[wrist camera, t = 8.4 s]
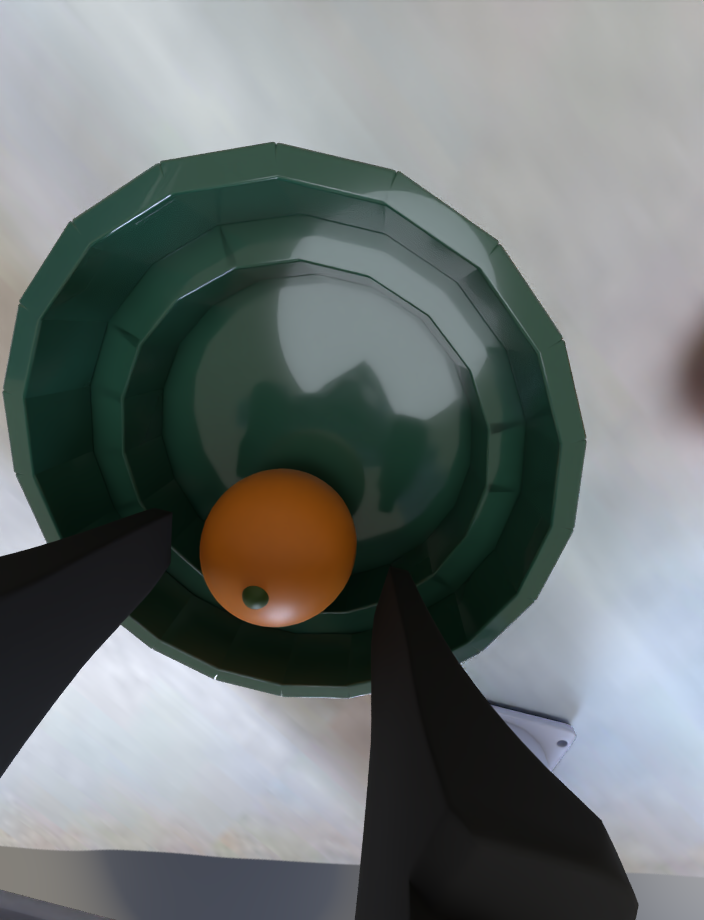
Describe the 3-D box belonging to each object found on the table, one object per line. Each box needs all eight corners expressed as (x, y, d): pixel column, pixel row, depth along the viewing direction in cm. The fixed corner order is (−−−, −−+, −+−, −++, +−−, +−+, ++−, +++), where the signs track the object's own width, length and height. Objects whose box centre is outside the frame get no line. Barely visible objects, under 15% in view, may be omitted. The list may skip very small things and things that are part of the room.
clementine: (346, 572, 15) (326, 692, 10) (232, 544, 15) (156, 649, 10) (375, 466, 13) (368, 548, 8) (245, 434, 13) (160, 497, 8)
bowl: (440, 627, 17) (460, 742, 12) (134, 551, 17) (37, 636, 12) (585, 282, 11) (727, 246, 7) (131, 173, 11) (-48, 63, 7)
